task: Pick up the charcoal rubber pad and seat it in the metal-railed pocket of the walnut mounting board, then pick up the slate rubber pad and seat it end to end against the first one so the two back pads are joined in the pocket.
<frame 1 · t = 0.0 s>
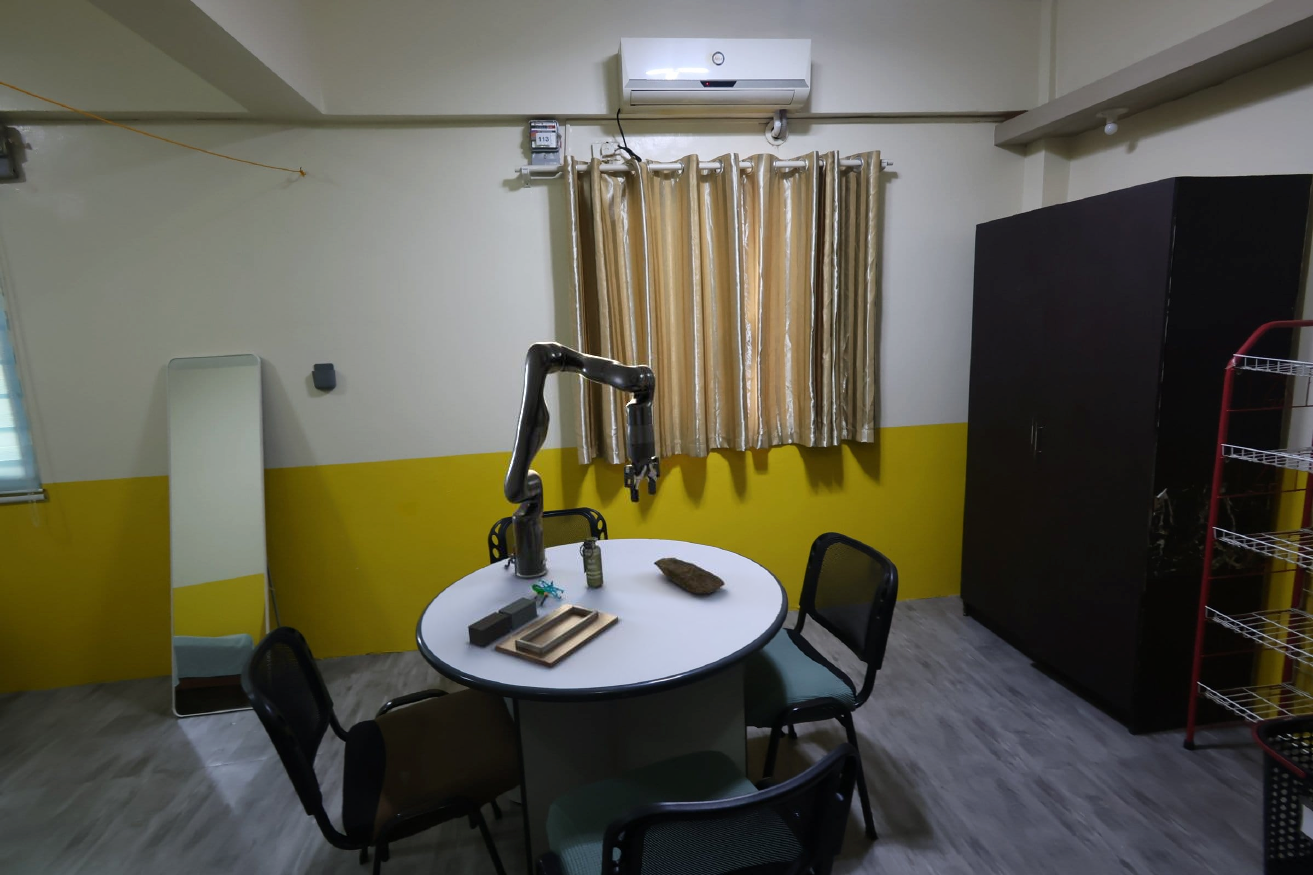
hand: (643, 498, 168), 29 cm above the table, tool pointing down, fingers open, 8 cm apart
pad a: (490, 637, 155), on the table
mount board: (559, 634, 154), on the table
stick construction toy: (544, 600, 176), on the table
stone: (686, 583, 182), on the table
pad b: (518, 621, 163), on the table
grenade: (593, 587, 183), on the table
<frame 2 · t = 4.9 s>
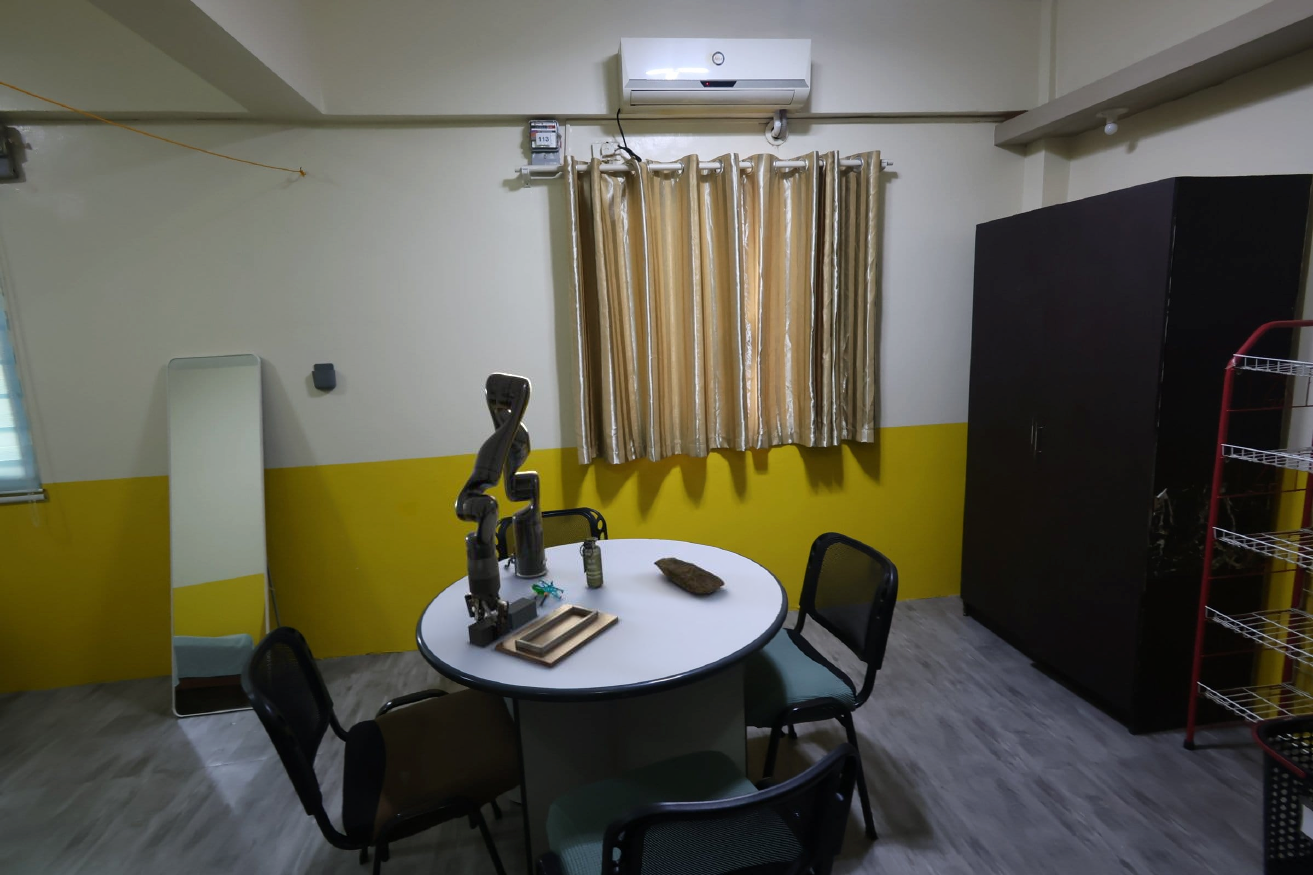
hand: (490, 635, 155), 0 cm above the table, tool pointing down, fingers closed on pad a, 5 cm apart
pad a: (490, 637, 155), on the table, touching gripper
everything else where it was.
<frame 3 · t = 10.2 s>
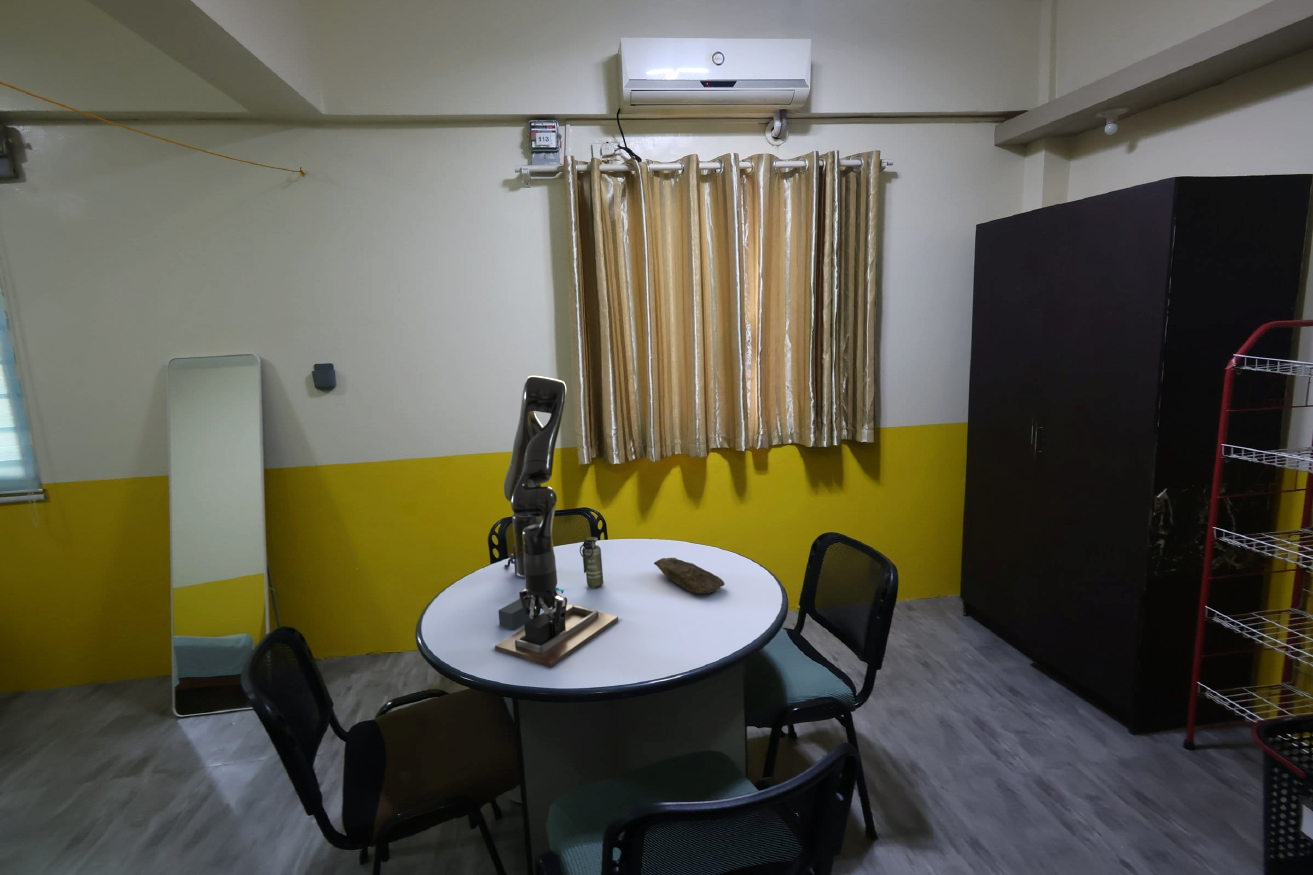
hand: (545, 633, 150), 2 cm above the table, tool pointing down, fingers closed on pad a, 5 cm apart
pad a: (546, 635, 150), point 2 cm above the table, touching gripper
everything else where it was.
when the fingers open (4 cm above the table, at t = 19.3 s): pad a drops 2 cm, resting on mount board.
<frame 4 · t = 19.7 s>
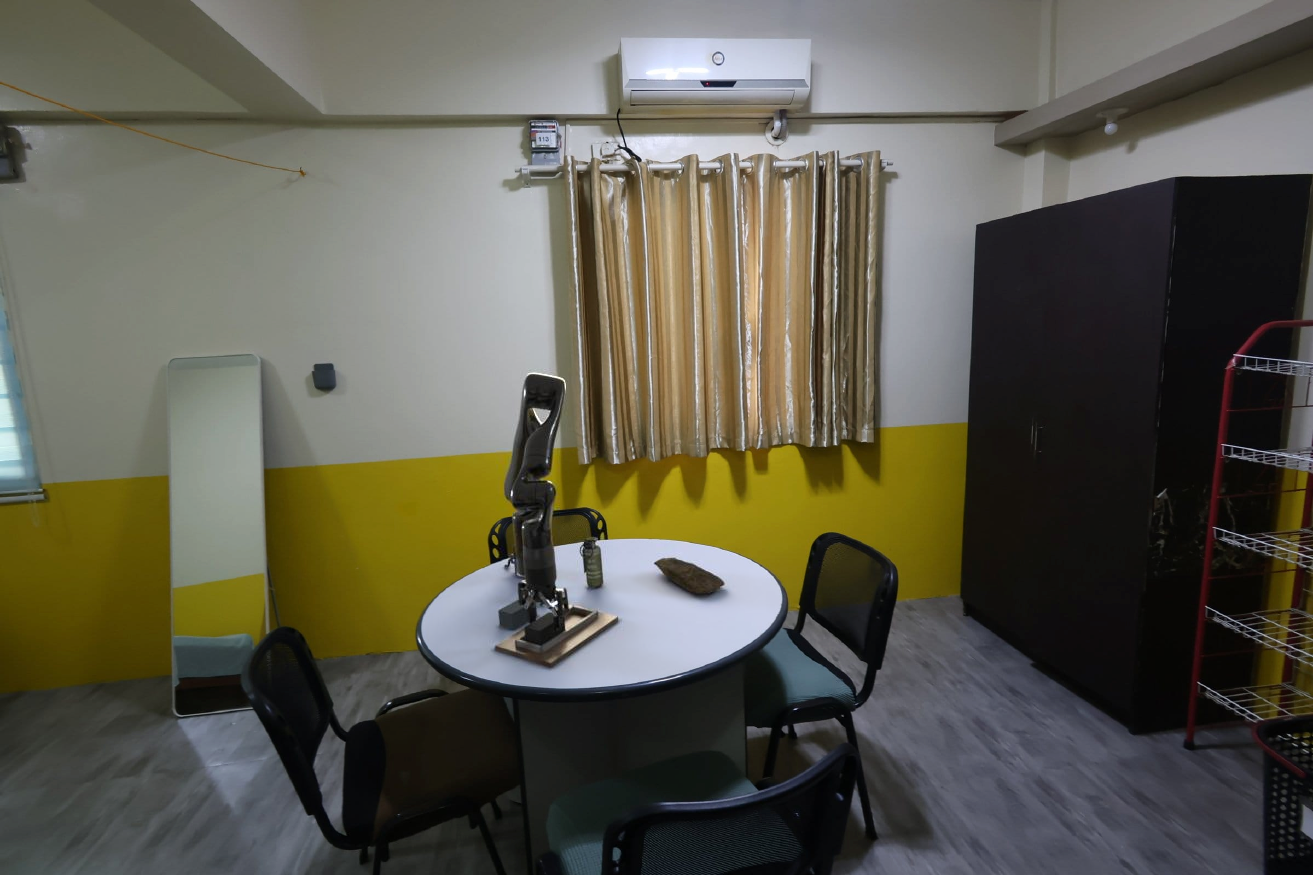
hand: (545, 625, 150), 5 cm above the table, tool pointing down, fingers open, 8 cm apart
pad a: (546, 638, 150), point 1 cm above the table, touching mount board
everything else where it was.
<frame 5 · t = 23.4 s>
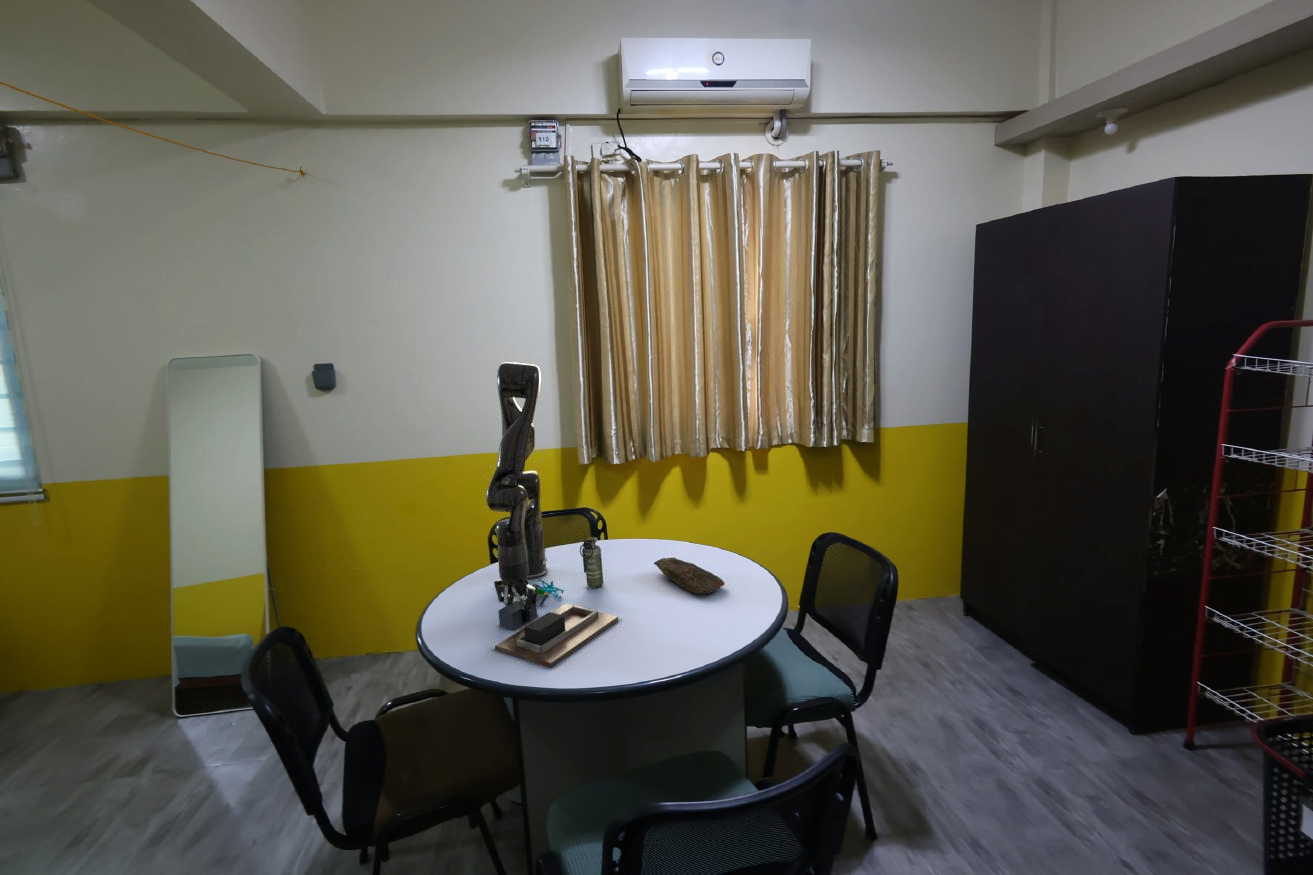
hand: (518, 619, 163), 0 cm above the table, tool pointing down, fingers closed on pad b, 5 cm apart
pad b: (518, 621, 163), on the table, touching gripper
everything else where it was.
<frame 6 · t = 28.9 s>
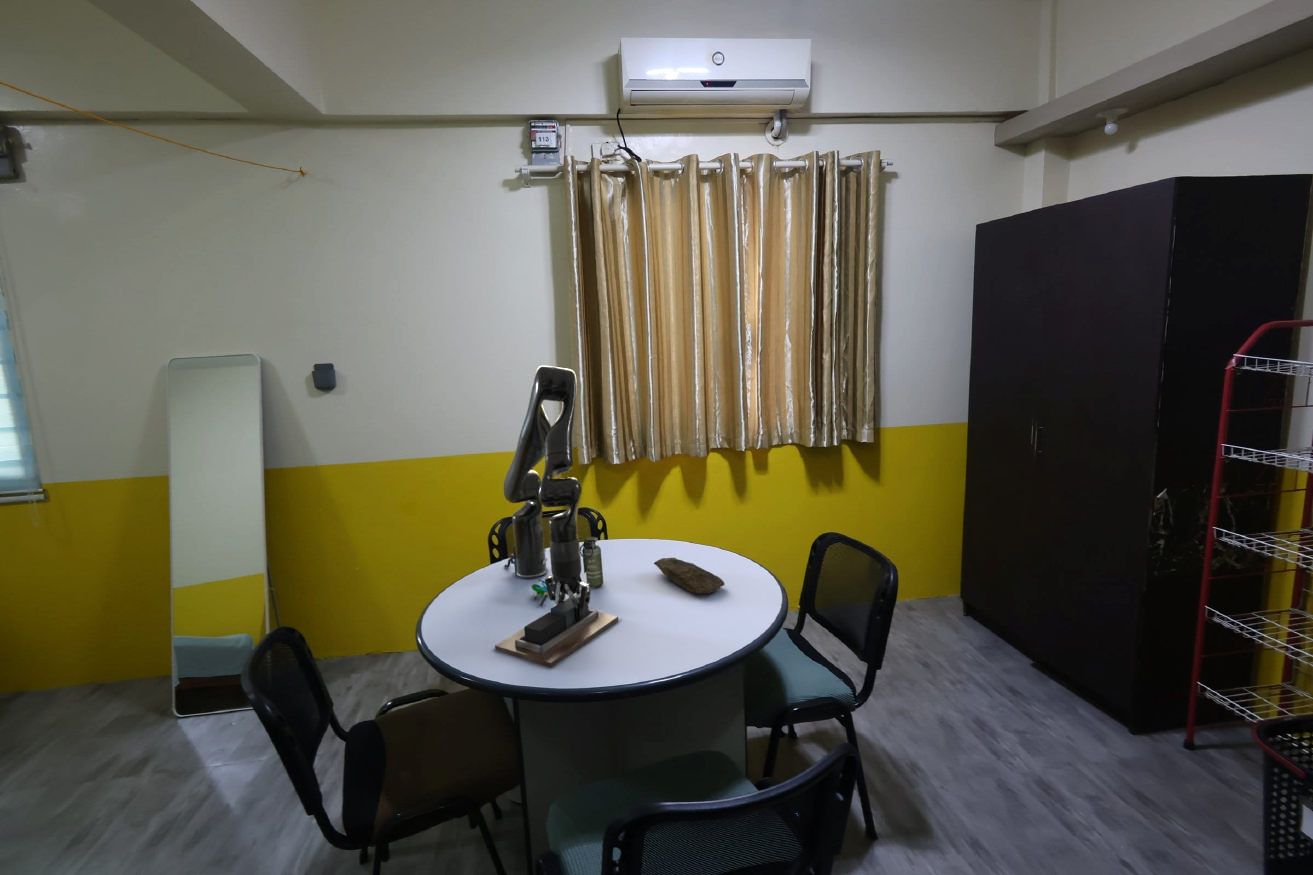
hand: (570, 618, 158), 2 cm above the table, tool pointing down, fingers closed on pad b, 5 cm apart
pad b: (570, 619, 158), point 2 cm above the table, touching gripper
everything else where it was.
when the fingers open (4 cm above the table, at t = 38.0 s): pad b drops 2 cm, resting on mount board.
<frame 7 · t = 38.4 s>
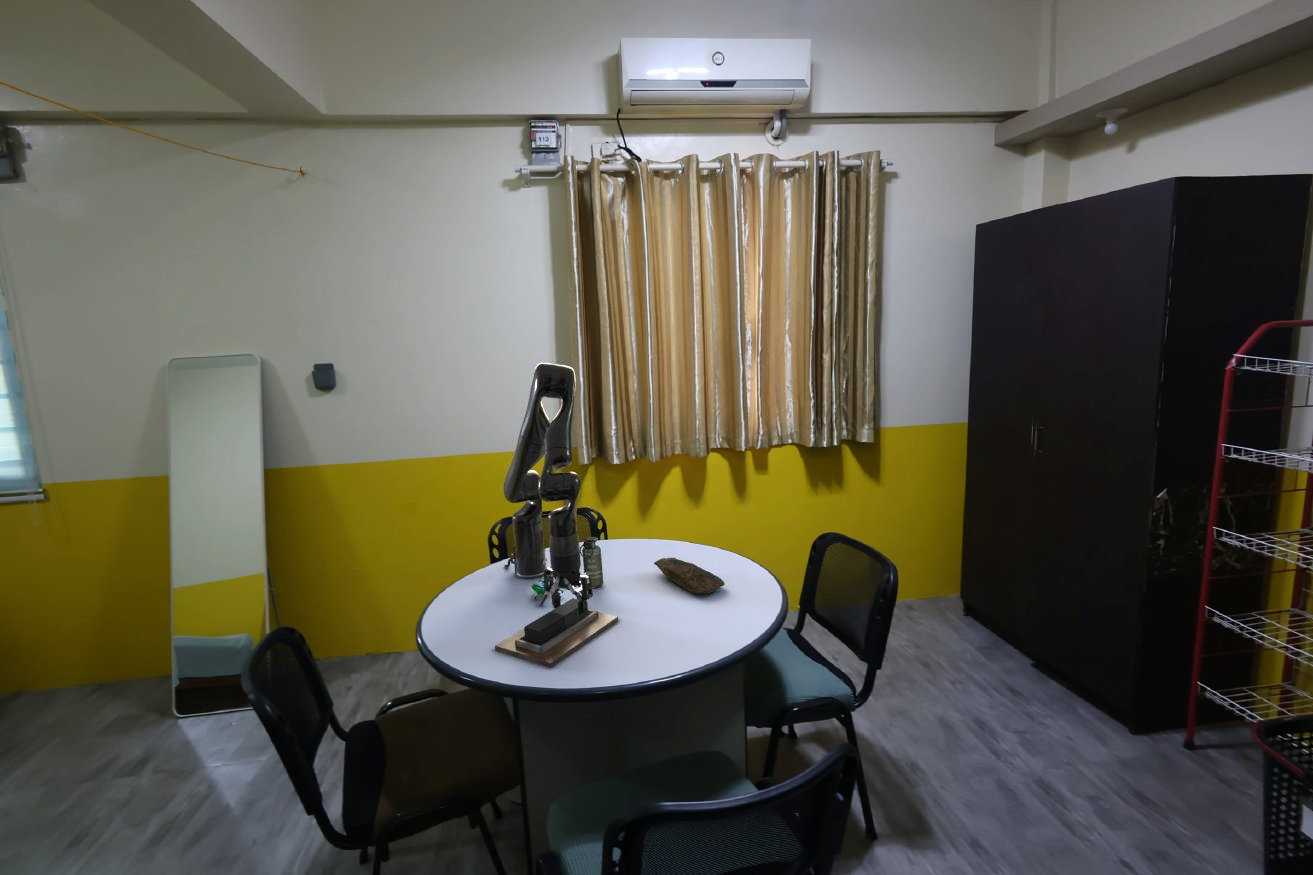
hand: (569, 610, 157), 5 cm above the table, tool pointing down, fingers open, 8 cm apart
pad b: (570, 622, 158), point 1 cm above the table, touching mount board
everything else where it was.
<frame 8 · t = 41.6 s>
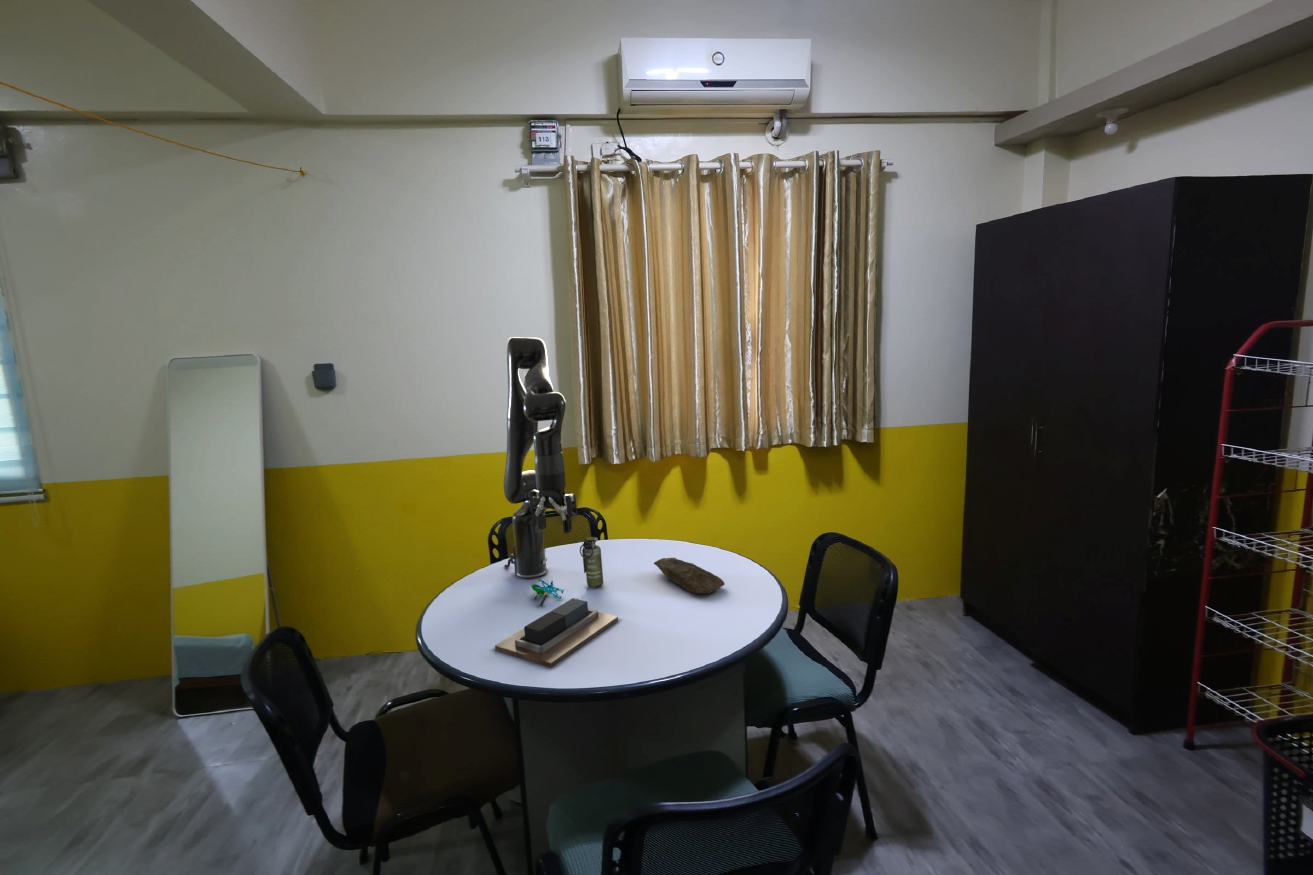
hand: (554, 530, 160), 24 cm above the table, tool pointing down, fingers open, 8 cm apart
nothing on the table moved.
at the end: pad a 0.2 cm from the target spot on the mount board, point 1.2 cm above the mount board's base; pad b 0.2 cm from the target spot on the mount board, point 1.2 cm above the mount board's base; pad b 9.2 cm from the pad a (horizontally) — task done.
